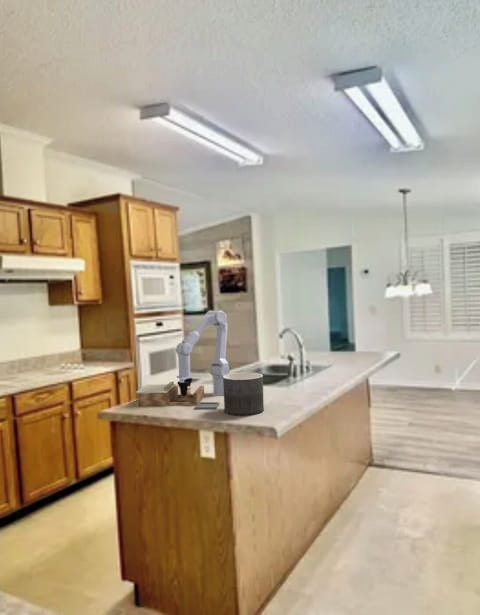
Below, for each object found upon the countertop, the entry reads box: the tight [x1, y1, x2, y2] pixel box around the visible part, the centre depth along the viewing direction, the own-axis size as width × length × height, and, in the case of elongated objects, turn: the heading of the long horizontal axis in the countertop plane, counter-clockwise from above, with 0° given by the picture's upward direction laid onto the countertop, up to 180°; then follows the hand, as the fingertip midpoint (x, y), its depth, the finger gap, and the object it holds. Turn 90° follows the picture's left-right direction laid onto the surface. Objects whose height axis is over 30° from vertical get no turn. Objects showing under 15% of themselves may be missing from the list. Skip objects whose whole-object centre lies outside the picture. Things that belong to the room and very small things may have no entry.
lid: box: [135, 381, 177, 394], centre depth 243 cm, size 15×19×2 cm
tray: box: [194, 401, 220, 410], centre depth 228 cm, size 10×10×1 cm
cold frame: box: [137, 385, 205, 407], centre depth 242 cm, size 29×19×6 cm, turn 84°
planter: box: [223, 372, 265, 417], centre depth 219 cm, size 18×18×16 cm
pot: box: [179, 385, 192, 398], centre depth 242 cm, size 5×5×5 cm
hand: (185, 394), depth 242 cm, fingers closed on pot, 5 cm apart
